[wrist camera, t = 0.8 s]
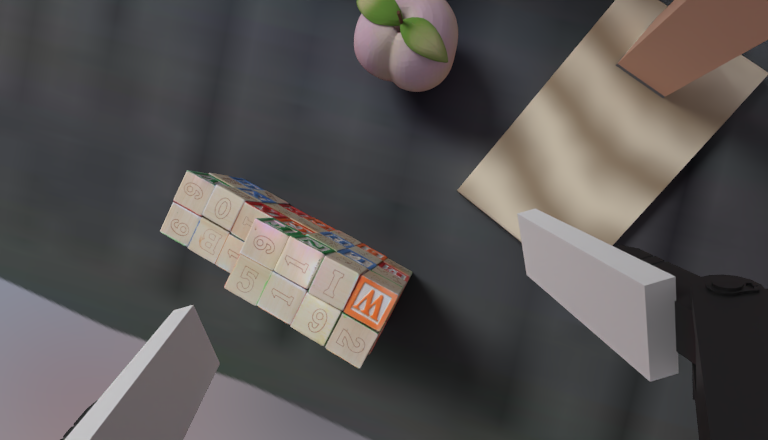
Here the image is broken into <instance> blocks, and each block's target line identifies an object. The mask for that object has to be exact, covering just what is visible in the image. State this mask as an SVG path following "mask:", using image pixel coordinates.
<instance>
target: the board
mask: <svg viewBox="0 0 768 440" xmlns="http://www.w3.org/2000/svg"><path fill="white" fill-rule="evenodd" d="M667 7H668V6H667V5H665V4H664V3H662V2H661V1H659V0H615V1H614V2H613V3H612V5H611V6H610V7H609V8H608V9H607V11H606V12H605V13H604V14H603V15H602V17H601V18H600V19H599V20H598V21H597V23H596V24H595V25H594V26H593V28H592V29H591V30H590V31H589V32H588V34H587V35H586V36H585V37H584V38H583V40H582V41H581V42H580V43H579V44H578V46H577V47H576V48H575V49H574V50H573V52H572V53H571V54H570V55H569V56H568V58H567V59H566V60H565V61H564V62H563V64H562V65H561V66H560V67H559V68H558V70H557V71H556V72H555V73H554V74H553V76H552V77H551V78H550V79H549V80H548V82H547V83H546V84H545V85H544V86H543V88H542V89H541V90H540V91H539V93H538V94H537V95H536V96H535V97H534V99H533V100H532V101H531V102H530V103H529V105H528V106H527V107H526V108H525V109H524V111H523V112H522V113H521V114H520V115H519V117H518V118H517V119H516V120H515V121H514V123H513V124H512V125H511V126H510V127H509V129H508V130H507V131H506V132H505V133H504V135H503V136H502V137H501V138H500V139H499V141H498V142H497V143H496V144H495V145H494V147H493V148H492V149H491V150H490V151H489V153H488V154H487V155H486V156H485V158H484V159H483V160H482V161H481V162H480V164H479V165H478V166H477V167H476V168H475V170H474V171H473V172H472V173H471V174H470V176H469V177H468V178H467V179H466V180H465V182H464V183H463V184H462V185H461V186H460V188H459V189H458V190H457V191H458V192H459V193H460V194H461V195H463V196H464V197H465V198H466V199H468V200H469V201H470V202H471V203H473V204H474V205H475V206H476V207H478V208H479V209H480V210H481V211H483V212H484V213H485V214H486V215H488V216H489V217H490V218H491V219H493V220H494V221H495V222H496V223H498V224H499V225H500V226H501V227H503V228H504V229H505V230H506V231H508V232H509V233H510V234H511V235H513V236H514V237H515V238H516V239H518V240H519V241H520V242H521V243H522V241H521V235H520V229H519V223H518V216H517V213H521V212H524V211H528V210H532V209H535V208H536V209H538V210H540V211H542V212H544V213H546V214H548V215H550V216H552V217H554V218H556V219H558V220H560V221H562V222H564V223H566V224H568V225H570V226H572V227H575V228H577V229H579V230H581V231H583V232H585V233H587V234H589V235H591V236H593V237H595V238H597V239H599V240H601V241H603V242H605V243H607V244H609V245H613V244H614V243H615V242H616V241H617V240H618V239H619V238H620V237H621V236H622V234H623V233H624V232H625V231H626V230H627V229H628V228H629V227H630V226H631V225H632V224H633V222H634V221H635V220H636V219H637V218H638V217H639V216H640V215H641V214H642V213H643V211H644V210H645V209H646V208H647V207H648V206H649V205H650V204H651V203H652V202H653V200H654V199H655V198H656V197H657V196H658V195H659V194H660V193H661V192H662V191H663V189H664V188H665V187H666V186H667V185H668V184H669V183H670V182H671V181H672V180H673V178H674V177H675V176H676V175H677V174H678V173H679V172H680V171H681V170H682V169H683V168H684V166H685V165H686V164H687V163H688V162H689V161H690V160H691V159H692V158H693V157H694V155H695V154H696V153H697V152H698V151H699V150H700V149H701V148H702V147H703V146H704V144H705V143H706V142H707V141H708V140H709V139H710V138H711V137H712V136H713V135H714V133H715V132H716V131H717V130H718V129H719V128H720V127H721V126H722V125H723V124H724V122H725V121H726V120H727V119H728V118H729V117H730V116H731V115H732V114H733V113H734V112H735V110H736V109H737V108H738V107H739V106H740V105H741V104H742V103H743V102H744V101H745V99H746V98H747V97H748V96H749V95H750V94H751V93H752V92H753V91H754V90H755V88H756V87H757V86H758V85H759V84H760V83H761V82H762V81H763V80H764V79H765V77H766V76H767V75H768V72H766V71H765V70H763V69H762V68H760V67H759V66H757V65H756V64H754V63H753V62H751V61H750V60H748V59H747V58H745V57H744V56H742V55H739V56H737V57H736V58H734V59H732V60H730V61H728V62H727V63H725V64H723V65H721V66H719V67H718V68H716V69H714V70H712V71H710V72H709V73H707V74H705V75H703V76H702V77H700V78H698V79H696V80H694V81H693V82H691V83H689V84H687V85H685V86H684V87H682V88H680V89H678V90H676V91H675V92H673V93H671V94H669V95H667V96H666V97H664V98H662V97H660V96H659V95H657V94H656V93H654V92H653V91H652V90H650V89H649V88H647V87H646V86H644V85H643V84H642V83H640V82H639V81H637V80H636V79H634V78H633V77H632V76H630V75H629V74H627V73H626V72H624V71H623V70H622V69H620V68H619V67H617V66H616V64H617V63H618V62H619V60H620V59H621V58H622V57H623V56H624V55H625V53H626V52H627V51H628V50H629V49H630V48H631V46H632V45H633V44H634V43H635V42H636V41H637V39H638V38H639V37H640V36H641V35H642V33H643V32H644V31H645V30H646V29H647V28H648V26H649V25H650V24H651V23H652V22H653V21H654V19H655V18H656V17H657V16H658V15H660V14H661V13H662V12H663V11H664V10H665V9H666V8H667Z"/></svg>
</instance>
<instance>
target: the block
mask: <svg viewBox="0 0 768 440" xmlns="http://www.w3.org/2000/svg"><path fill="white" fill-rule="evenodd" d="M766 40H768V0H674V1H673V2H672V3H671V4H670V5H669V6H668V7H667V8H666V9H665V10H664V11H663V12H662V13H661V14H660V15H658V16H657V17H656V18H655V19H654V21H653V22H652V23H651V24H650V25H649V26H648V28H647V29H646V30H645V31H644V32H643V33H642V35H641V36H640V37H639V38H638V39H637V41H636V42H635V43H634V44H633V45H632V46H631V48H630V49H629V50H628V51H627V52H626V53H625V55H624V56H623V57H622V58H621V59H620V60H619V62H618V63H617V64H616V66H617V67H619V68H620V69H622V70H623V71H624V72H626V73H627V74H629V75H630V76H632V77H633V78H634V79H636V80H637V81H639V82H640V83H642V84H643V85H644V86H646V87H647V88H649V89H650V90H652V91H653V92H654V93H656V94H657V95H659V96H660V97H662V98H664V97H666V96H667V95H669V94H671V93H673V92H675V91H676V90H678V89H680V88H682V87H684V86H685V85H687V84H689V83H691V82H693V81H694V80H696V79H698V78H700V77H702V76H703V75H705V74H707V73H709V72H710V71H712V70H714V69H716V68H718V67H719V66H721V65H723V64H725V63H727V62H728V61H730V60H732V59H734V58H736V57H737V56H739V55H741V54H743V53H745V52H746V51H748V50H750V49H752V48H754V47H755V46H757V45H759V44H761V43H762V42H764V41H766Z"/></svg>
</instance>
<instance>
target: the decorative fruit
mask: <svg viewBox="0 0 768 440" xmlns="http://www.w3.org/2000/svg"><path fill="white" fill-rule="evenodd" d="M356 2H357V6H358V9H359V10H360V12H361V13H362V14H361V15H360V17H359V20H358V22H357V25H356V29H355V35H354V49H355V54H356V57H357V59H358V60H359V62H360V64H361V65H362V66H363V67H364V68H365V69H366V70H367V71H368V72H369V73H371V74H372V75H374V76H376V77H378V78H380V79H382V80H386V81H392V82H394V83H395V84H396V85H397V86H398V87H399V88H401V89H404V90H407V91H412V92H421V91H426V90H429V89H432V88H434V87H436V86H437V85H439V84H440V83H441V82H442V81H443V80H444V79H445V78H446V77H447V75H448V73H449V72H450V70H451V67H452V64H453V61H454V57H455V53H456V48H457V42H458V25H457V20H456V17H455V15H454V12H453V10H452V9H451V7H450V5H449V4H448V3H447V2H446V1H445V0H357V1H356Z"/></svg>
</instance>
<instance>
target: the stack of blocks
mask: <svg viewBox="0 0 768 440" xmlns="http://www.w3.org/2000/svg"><path fill="white" fill-rule="evenodd" d="M160 232H161V233H162V234H164V235H166V236H168V237H170V238H171V239H173V240H175V241H177V242H178V243H180V244H182V245H184V246H187V247H188V249H189V250H191V251H193V252H195V253H196V254H198V255H200V256H201V257H203V258H205V259H207V260H208V261H210V262H212V263H214V264H216V265H217V266H218V267H220V268H222V269H223V270H225V271H227V272H229V273H231V274H230V276H229V278H228V280H227V282H226V284H225V286H224V288H225V289H227V290H229V291H230V292H232V293H234V294H235V295H237V296H239V297H241V298H243V299H244V300H246V301H248V302H249V303H251V304H253V305H254V306H258V307H260V308H261V309H263V310H264V311H266V312H268V313H270V314H271V315H273V316H275V317H277V318H278V319H280V320H282V321H283V322H285V323H287V324H290V326H291V327H292V328H293V329H295V330H297V331H298V332H300V333H302V334H303V335H305V336H307V337H308V338H310V339H312V340H313V341H315V342H317V343H318V344H320V345H322V346H325V347H326V349H327V350H329V351H330V352H332V353H334V354H335V355H337V356H339V357H340V358H342V359H343V360H345V361H347V362H348V363H350V364H352V365H353V366H355V367H357V368H361V366H362V364H363V362H364V360H365V359H366V357H367V355H368V354H370V353H371V352H372V350H373V348H374V346H375V344H376V342H377V340H378V338H379V336H380V335H381V333H382V331H383V329H384V327H385V325H386V323H387V321H388V319H389V318H390V316H391V314H392V312H393V310H394V308H395V306H396V304H397V302H398V300H399V298H400V296H401V294H402V292H403V290H404V288H405V286H406V284H407V282H408V281H409V279H410V277H411V275H412V273H413V272H412V271H410V270H408V269H406V268H404V267H403V266H401V265H399V264H397V263H396V262H394V261H392V260H390V259H388V258H387V257H386V256H385V255H383V254H381V253H379V252H377V251H376V250H374V249H372V248H370V247H368V246H367V245H365V244H363V243H361V242H359V241H358V240H356V239H354V238H352V237H351V236H349V235H347V234H345V233H343V232H341V231H340V230H335V229H334V228H332V227H330V226H328V225H326V224H325V223H323V222H321V221H319V220H317V219H316V218H313V217H311V216H309V215H307V214H305V213H304V212H302V211H300V210H298V209H296V208H294V207H293V206H291V205H289V203H288V202H286V201H284V200H282V199H280V198H279V197H277V196H275V195H273V194H271V193H269V192H268V191H265V190H263V189H261V188H260V187H258V186H256V185H254V184H252V183H250V182H249V181H247V180H245V179H242V178H236V177H231V176H226V175H220V174H214V173H209V174H207V173H201V172H195V171H189V170H187V172H186V174H185V176H184V178H183V180H182V182H181V185H180V187H179V189H178V191H177V193H176V195H175V197H174V202H173V204H172V206H171V208H170V210H169V212H168V214H167V217H166V219H165V221H164V223H163V225H162V228H161V230H160Z"/></svg>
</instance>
